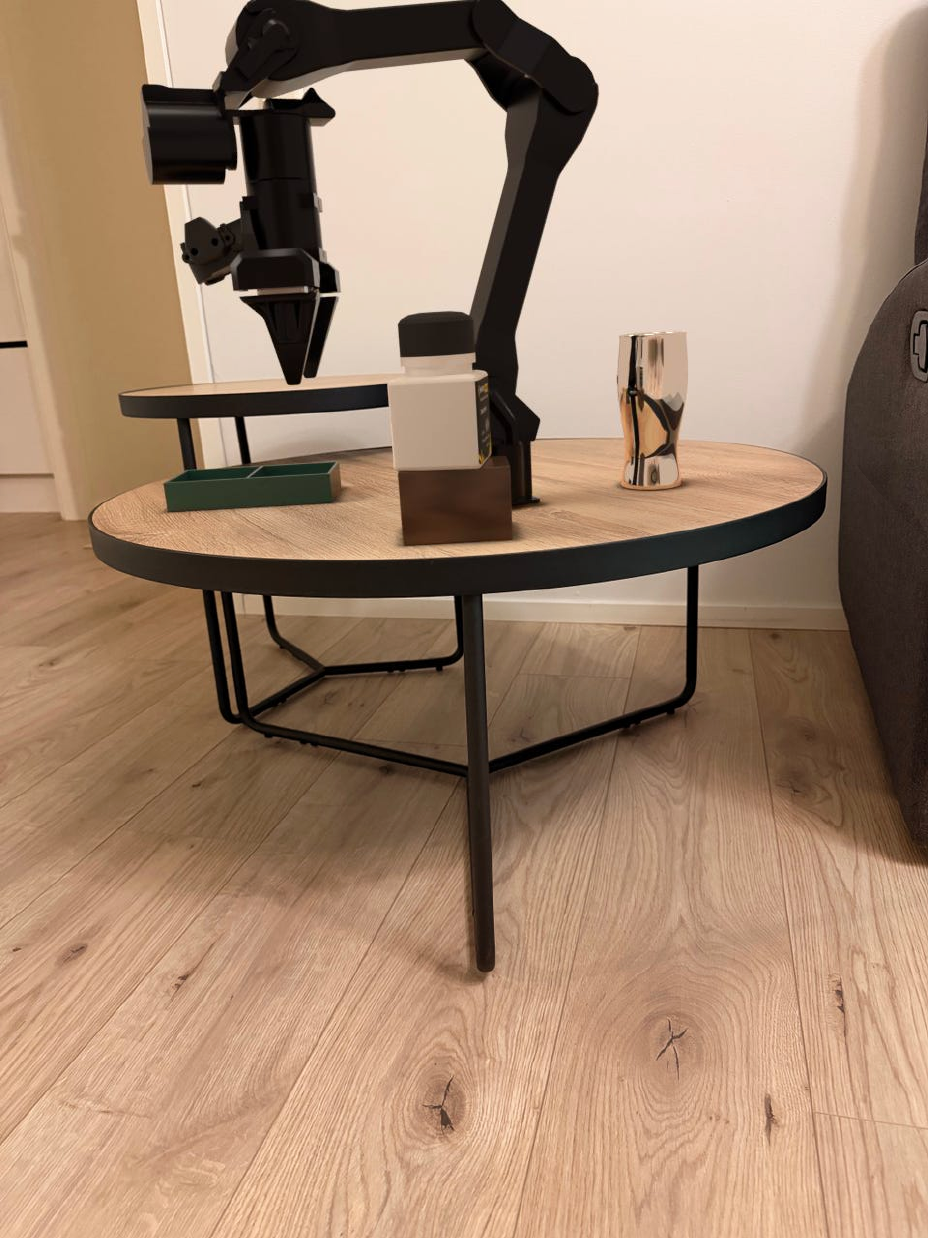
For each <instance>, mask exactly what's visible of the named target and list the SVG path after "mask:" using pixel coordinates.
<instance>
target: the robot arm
mask: <svg viewBox="0 0 928 1238" xmlns="http://www.w3.org/2000/svg"><path fill="white" fill-rule="evenodd" d="M224 54H225V55H224V56H225V63H226V65H227V66H226V67H227V68H226V69H225V71H224V70H220V71H219V72H218V73H217V76H216V77H215V79H214V80H213V83H212V85H211V88H191V87H190V88H189V87H185V88H184V87H170V86H166V85H162V84H156V83H144V84H142V86H141V88H140V91H139V96H140V102H141V117H142V131H143V137H142V139H141V144H142V145H141V146H142V151H143V152H142V153H143V157H144V163H145V168H146V173H147V177H148V181H149V183H150V185H151V186H189V185H190V186H194V185H197V186H198V185H199V186H202V185H203V186H206V185H207V186H211V185H213V186H215V185H217V186H218V185H221V186H222V185H224V184H225V182H226V174H227V171H231V172H234V171H237V169H238V161H239V160H238V157H239V156H238V154H239V153H238V141H237V135H236V128H235V126H238V131H239V132H238V133H239V138H240V148H241V149H240V150H241V156H242V157H241V158H242V166H243V174H244V182H245V189H246V190H245V191H246V195H243V196H241V200H239V202H238V207H239V216H240V217H239V218H237V219H234V220H232V221H230V222H227V223H225V222H222V223H221V224H219V226H218V227H216V226H215V225H214V224H213V223H211V222H210V221H209V220H208V219H206V218H205V217H202V216H198V217H195V218H193V219H191V220H189V221H187V222H185V223H184V224H183V228H184V229H183V231H184V241H183V242H181V243H179V246H180V250H181V252H182V254H181V260H182V262H183V263H185V264H188V266H189V269H190V271H191V273H192V275H193V277H194V279H195V281H196V283H197V284H198V285H200V286H201V285H202V284H204V285H205V286H208V287H209V286H213V285H215V284H218V283H220V282H222V281H224V280H225V279H226V277H227V276H229V275H230V276H231V285H232V291H233V292H238V293H239V292H240V293H241V292H242V293H243V292H245V293H246V292H249V291H252V290H256V293H257V294H255V295H241V296H238V298H239V300H240V301H241V302H242V303H243V304H245V305H246V306H248V307H249V308H250V309H252V310H253V311H254V312H255V313H256V314H258V315H259V316H260V317H261V318H262V319H263V321H264V324H265V326H266V329H267V332H268V335H269V337H270V340H271V343H272V346H273V348H274V351H275V354H276V357H277V360H278V363H279V366H280V369H281V372H282V375H283V377H284V380H285V383H286V384H287V385H288V386H299V385H301V383H302V382H303V381H302V380H303V378H304V379H315V378H317V376H318V372H319V370H320V369H319V368H320V365H321V361H322V358H323V354H324V351H325V347H326V344H327V340H328V337H329V332H330V330H331V327H332V323H333V319H334V316H335V312H336V309H337V306H338V303H339V301H340V296H338V295H333V296H331V295H330V296H324V294H325V295H326V294H339V293H342V288H341V287H342V286H341V277H340V271H339V270H338V269H337V268H336V267H335V266H334V265H333V264H332V263H330V262H329V261H328V255H327V251H326V250H324V245H323V236H322V226H321V216H320V213H323V201H322V198H320V197H319V194H318V183H317V174H316V164H315V153H314V143H313V133H312V127H315V128H318V127H321V128H323V127H325V126H326V125H328V123H329V122H331V121H332V120H333V119H334V118H335V117H336V114H337V112H336V110H335V108H333V107H332V106H331V105H330V104H329V103H328V102H327V101H325V100H324V99H322V97H321V96H320V95H319V93H318V92H317V91H316V89H315V88H314V87H312V85H314V84H317V83H320V82H322V81H323V80H324V81H325V80H326V79H328V78H331V77H334V76H336V75H339V74H342V73H347V72H348V73H349V72H356V71H366V70H374V69H375V70H376V69H386V68H394V67H395V68H396V67H404V66H414V65H423V64H432V63H433V64H434V63H440V62H441V63H442V62H451V61H462V60H464V62H466V64H467V65H468V66H470V67H471V68H472V69H473V71H474V72H475V74H476V75H477V77H478V79H479V80H480V82H481V84H482V85H483V87H484V89H485V90H486V92H487V94H488V95H489V97H490V98H491V99H492V101H494V102H495V103H496V105H498V106H499V107H500V108H501V109H502V110H503V111H504V112H505V113H506V118H505V126H504V144H505V150H506V151H505V152H506V153H505V154H506V160H507V161H506V162H507V169H506V170H507V171H506V175H505V178H504V182H503V186H502V190H501V193H500V196H499V197H500V198H499V201H498V204H497V208H496V212H495V216H494V219H493V223H492V227H491V230H490V235H489V238H488V242H487V246H486V250H485V253H484V257H483V261H482V265H481V269H480V274H479V276H478V279H477V280H478V281H477V284H476V287H475V291H474V295H473V299H472V303H471V307H470V311H469V314H468V315H470V316H471V317H472V319H473V320H474V340H475V359H476V362H474V363H472V370H481V371H485V372H487V374H488V389H489V410H490V431H491V455H490V456H489V457H493V456H506V458H507V460H508V463H509V466H510V479H511V505H512V508H514V507H521V506H527V505H528V506H529V505H534V504H541V498H540V497H539V496H536V495H533V472H532V471H533V469H532V442H535V441H536V439H537V436H538V431H539V428H540V425H541V418H540V417H539V416H538V414H536V413H535V412H534V411H533V410H532V409H531V408H530V407H529V406H528V405H527V404H526V402H524V401H523V400H522V399H521V398H520V397H519V396H518V395H517V386H518V378H519V369H520V365H519V357H518V350H517V349H518V348H517V340H516V335H517V331H518V330H517V329H518V325H519V323H520V318H521V315H522V311H523V308H524V304H525V300H526V296H527V293H528V289H529V286H530V282H531V278H532V275H533V271H534V267H535V263H536V260H537V256H538V252H539V249H540V246H541V242H542V238H543V234H544V231H545V227H546V223H547V220H548V217H549V213H550V209H551V206H552V203H553V198H554V194H555V191H556V187H557V184H558V180H559V178H560V175H561V173H562V172H563V171H564V169H565V168H566V165H568V163H569V162H570V160H571V159H572V157H573V155H574V154H575V152H576V151H577V149H578V148H579V147H580V145H581V144H582V142H583V140H584V138H585V135H586V133H587V131H588V128H589V126H590V124H591V122H592V119H593V118H594V115H595V112H596V110H597V108H598V104H599V97H600V91H599V90H600V89H599V88H600V87H599V84H598V83H597V82H596V80H595V79H596V78H595V76H594V74H593V72H592V70H591V69H590V67H589V66H588V64H587V63H586V62H585V61H583V60H581V58H579V57H578V56H575V55H571V53H569V52H568V51H567V50H566V48H564V47H563V45H562V44H561V43H560V42H559V41H558V40H557V39H556V38H555V37H553V36H552V35H550V34H548V33H546V32H545V31H543V30H541V29H540V28H538V27H536V26H534V25H533V24H531V23H530V22H528V21H526V20H524V19H522V18H521V17H519V15H517V13H515V12H514V10H512V9H511V8H510V6H508V4H506V2H505V1H503V0H446V1H434V2H423V3H422V2H421V3H412V4H409V3H408V4H399V5H398V4H397V5H388V6H378V7H376V6H375V7H362V8H352V9H351V8H350V9H343V8H336V7H335V8H334V7H330V6H327V5H324V4H321V3H319V2H317V1H313V0H249V1H247V2H246V4H245V5H244V6H243V7H242V9H241V10H240V12H239V14H238V16H237V17H236V19H235V21H234V23H233V25H232V27H231V28H230V31H229V33H228V35H227V37H226V42H225V46H224ZM309 86H311V87H309ZM307 87H309V88H308V89H307V90H306V91H305V92H304V93H303V95H302V97H301V98H282V97H281V98H280V96H283V95H286V94H289V93H293V92H295V91H298V90H302V89H305V88H307ZM278 97H279V98H278ZM254 98H257V99H263V100H264V101H263V104H262V108H258V109H241V108H243V107H244V106H245V105H246V104H248V103H249V102H250V101H251V100H252V99H254Z"/></svg>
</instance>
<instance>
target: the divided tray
mask: <svg viewBox="0 0 928 1238" xmlns="http://www.w3.org/2000/svg"><path fill="white" fill-rule="evenodd" d="M341 489H342V479H341V467H340V461H323V462H319V461H318V462H305V463H288V464H287V463H286V464H270V465H251V466H237V467H217V468H216V467H215V468H200V469H185V470H184V471H182V472H180V473H178V474H176V475H175V476H173V477H172V478H170V479H168V480H166V481H164V482H163V490H164V497H165V503H166V509H167V510H166V511H167V512H168V513H171V512H187V511H206V510H221V509H239V508H241V509H242V508H259V507H273V506H294V505H308V504H327V503H333V502H334V500H335V499H336V498H337V496H338V495H339V493H340V491H341Z"/></svg>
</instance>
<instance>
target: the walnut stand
mask: <svg viewBox="0 0 928 1238" xmlns="http://www.w3.org/2000/svg"><path fill="white" fill-rule="evenodd" d="M397 481H398V482H397V483H398V493H399V494H398V495H399V507H400V519H401V533H402V544H403V546H416V545H432V544H435V545H437V544H452V543H469V542H486V541H490V542H491V541H504V540H505V541H507V540H513V539H514V533H513V510H512V509H513V507H512V505H511V479H510V466H509V463H508V460H507V458H506V456H493V457H489V458H488V459H487V460H486V461H485V463H484V464H483V465H482V466H481V467H480V468H479V469H459V470H429V471H397Z"/></svg>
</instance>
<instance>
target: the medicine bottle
mask: <svg viewBox="0 0 928 1238" xmlns="http://www.w3.org/2000/svg"><path fill="white" fill-rule="evenodd" d="M397 331H398V345H399V346H398V347H399V359H400V360H399V361H400V367H401V368H404V374H405V375H403V376H399V377H396V378H393V379H391V380H389V381H388V382H387V397H388V398H387V399H388V410H389V411H388V412H389V423H390V435H391V447H392V460H393V461H392V462H393V468H394V471H396V472H399V471H429V470H459V469H479V468H480V467H481V466H482V465H483V464H484V463H485V461H486V460H487V459H488V458H489V456H490V455H491V431H490V410H489V389H488V374H487V372H485V371H481V370H472V363H474V362H476V359H475V340H474V320H473V319H472V317H471V316H470V315H469V314H468V313H465V312H463V311H456V310H455V311H454V310H445V311H443V310H442V311H428V312H427V311H426V312H417V313H412V314H408V315H406V316H404V317H403V318H401V319H400V320H399V321H398V323H397Z"/></svg>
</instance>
